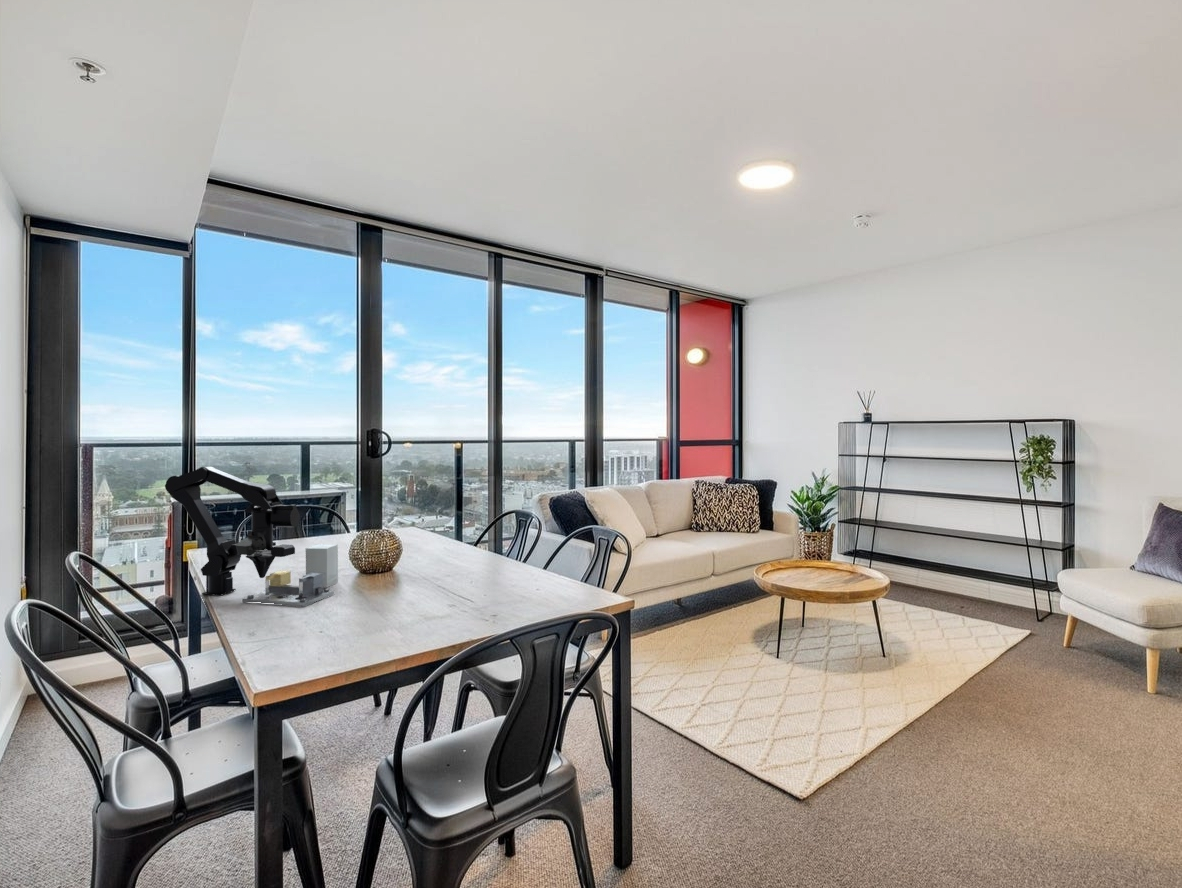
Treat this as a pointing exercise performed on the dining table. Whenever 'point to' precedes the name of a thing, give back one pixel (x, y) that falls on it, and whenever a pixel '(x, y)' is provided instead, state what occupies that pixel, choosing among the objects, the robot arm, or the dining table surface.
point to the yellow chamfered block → (277, 580)
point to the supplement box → (323, 562)
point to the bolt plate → (286, 600)
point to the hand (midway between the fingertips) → (262, 577)
